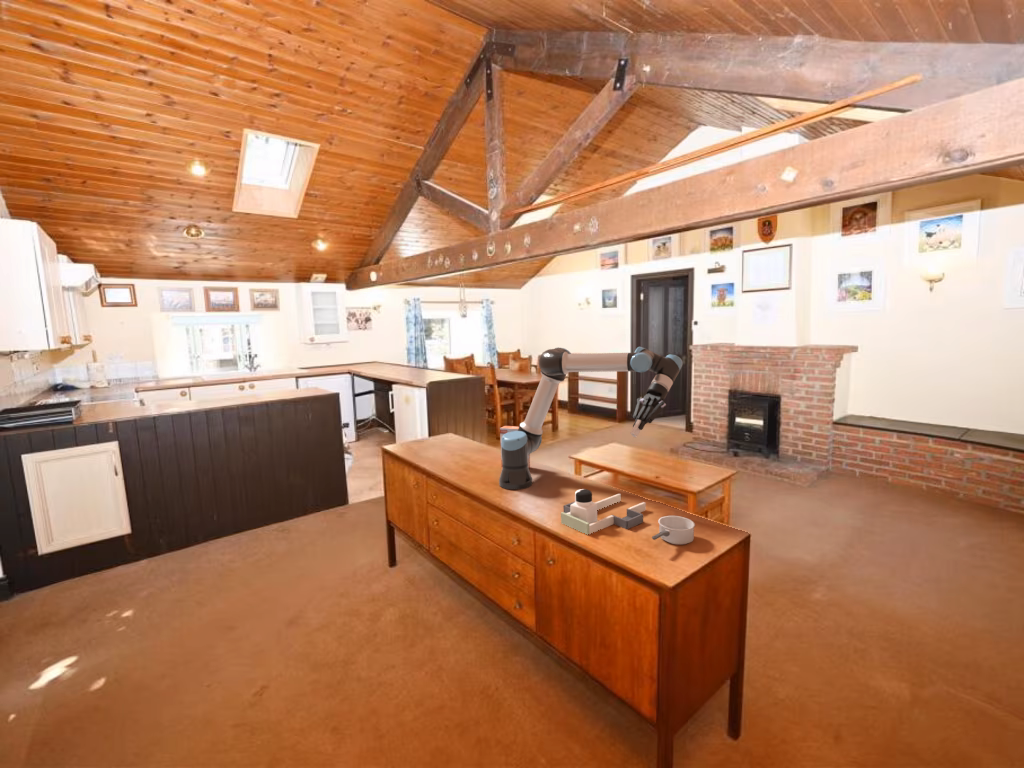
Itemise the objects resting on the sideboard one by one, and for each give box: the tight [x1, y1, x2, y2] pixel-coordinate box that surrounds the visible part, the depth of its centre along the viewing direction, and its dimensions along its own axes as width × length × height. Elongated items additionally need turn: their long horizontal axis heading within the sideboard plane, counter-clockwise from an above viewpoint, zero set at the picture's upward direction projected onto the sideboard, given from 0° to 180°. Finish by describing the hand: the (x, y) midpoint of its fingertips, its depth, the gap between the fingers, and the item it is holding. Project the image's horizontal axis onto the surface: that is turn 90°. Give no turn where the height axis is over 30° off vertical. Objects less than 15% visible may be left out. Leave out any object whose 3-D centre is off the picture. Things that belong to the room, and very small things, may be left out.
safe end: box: [560, 511, 590, 536], centre depth 161 cm, size 1×13×4 cm, turn 37°
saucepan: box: [651, 515, 696, 545], centre depth 149 cm, size 12×20×6 cm, turn 133°
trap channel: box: [562, 493, 647, 535], centre depth 171 cm, size 31×25×3 cm
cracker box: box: [499, 425, 531, 469], centre depth 234 cm, size 14×6×21 cm, turn 63°
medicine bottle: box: [570, 488, 598, 524], centre depth 166 cm, size 7×7×12 cm
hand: (633, 435), depth 178 cm, fingers closed
